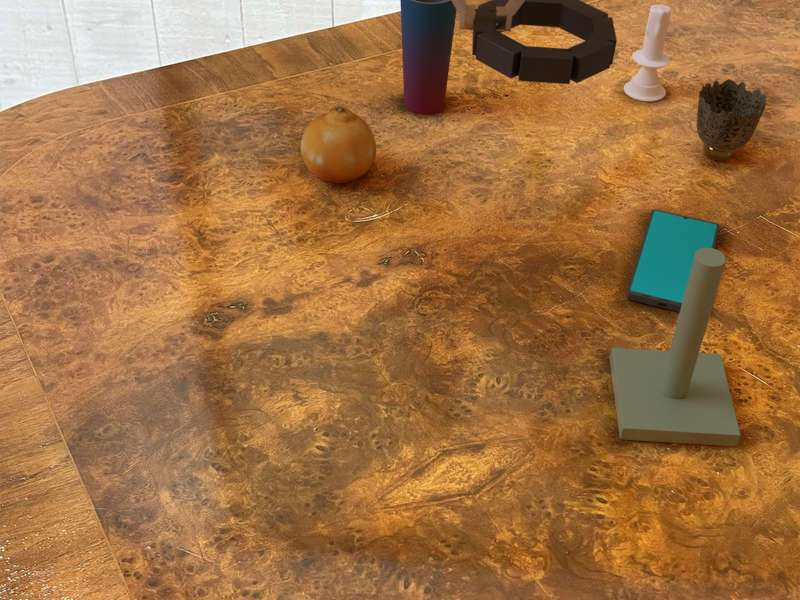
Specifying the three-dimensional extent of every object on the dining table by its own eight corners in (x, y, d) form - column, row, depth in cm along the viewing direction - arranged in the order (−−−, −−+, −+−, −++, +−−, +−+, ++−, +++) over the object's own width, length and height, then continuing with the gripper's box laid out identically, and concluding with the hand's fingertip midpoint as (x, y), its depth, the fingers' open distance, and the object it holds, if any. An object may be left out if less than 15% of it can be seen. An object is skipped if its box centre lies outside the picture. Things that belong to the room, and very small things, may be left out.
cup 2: (672, 152, 126) (686, 92, 121) (710, 131, 130) (725, 72, 125) (725, 179, 122) (742, 119, 117) (762, 157, 126) (780, 97, 120)
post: (717, 365, 99) (761, 222, 88) (736, 447, 91) (788, 301, 80) (609, 358, 99) (640, 215, 88) (619, 439, 92) (655, 294, 81)
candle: (669, 102, 135) (688, 14, 127) (627, 101, 135) (643, 13, 127) (661, 81, 139) (679, -6, 131) (620, 80, 139) (636, -7, 131)
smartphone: (626, 292, 105) (652, 208, 116) (624, 298, 105) (650, 214, 116) (701, 311, 103) (721, 224, 114) (699, 317, 104) (719, 230, 114)
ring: (604, 21, 105) (608, -3, 104) (616, 87, 96) (621, 62, 94) (472, 12, 106) (475, -12, 104) (471, 78, 96) (474, 52, 94)
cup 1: (459, 97, 134) (467, -16, 124) (438, 123, 129) (445, 8, 120) (410, 85, 136) (414, -27, 126) (387, 110, 131) (390, -5, 122)
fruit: (354, 122, 125) (328, 84, 118) (399, 158, 120) (375, 119, 114) (305, 172, 124) (276, 136, 117) (349, 209, 120) (322, 174, 113)
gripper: (615, -131, 93) (593, 17, 102) (380, -140, 93) (379, 8, 102) (622, -104, 88) (599, 48, 97) (374, -114, 88) (374, 39, 98)
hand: (484, 27), depth 100 cm, fingers closed on ring, 2 cm apart
